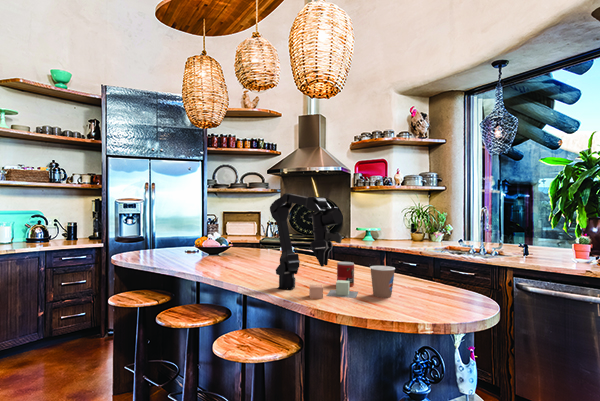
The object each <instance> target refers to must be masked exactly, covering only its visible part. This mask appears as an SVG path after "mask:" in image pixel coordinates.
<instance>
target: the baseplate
mask: <svg viewBox="0 0 600 401" xmlns="http://www.w3.org/2000/svg"><path fill="white" fill-rule="evenodd" d="M358 295H359V291H354V290H349V295H336V289H330V290H329V291H328V293H327V294H326V297H332V298H333V297H334V298H346V299H347V298H348V299H349V298H351V299H357V296H358Z"/></svg>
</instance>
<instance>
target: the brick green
mask: <svg viewBox="0 0 600 401" xmlns="http://www.w3.org/2000/svg"><path fill="white" fill-rule="evenodd" d="M350 288H351V287H350V281H343V280H338V281H337V280H336V281H335V290H336V295H349V291H350Z"/></svg>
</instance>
